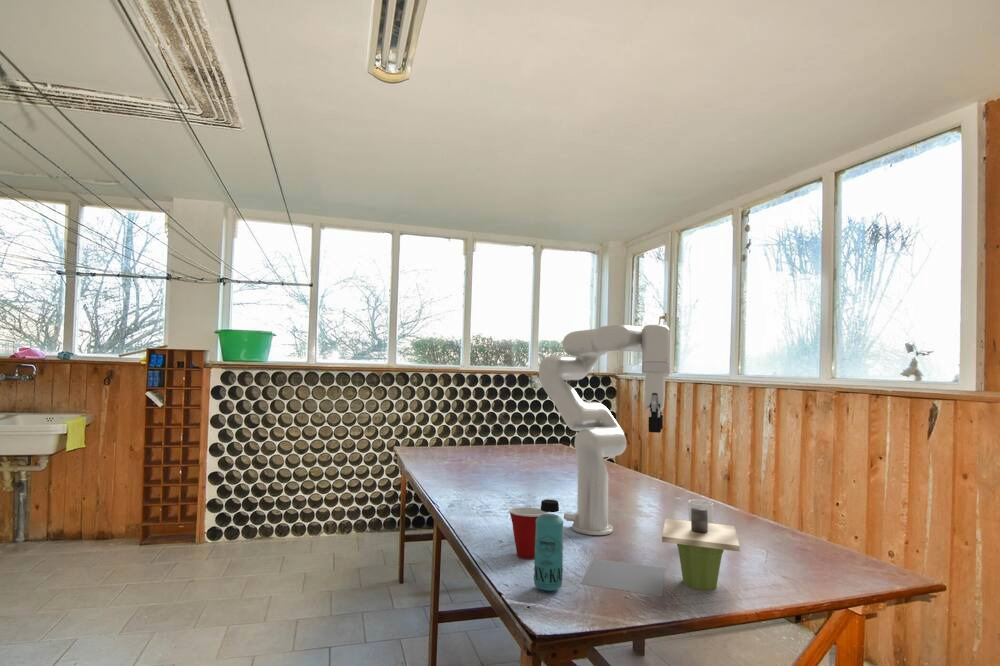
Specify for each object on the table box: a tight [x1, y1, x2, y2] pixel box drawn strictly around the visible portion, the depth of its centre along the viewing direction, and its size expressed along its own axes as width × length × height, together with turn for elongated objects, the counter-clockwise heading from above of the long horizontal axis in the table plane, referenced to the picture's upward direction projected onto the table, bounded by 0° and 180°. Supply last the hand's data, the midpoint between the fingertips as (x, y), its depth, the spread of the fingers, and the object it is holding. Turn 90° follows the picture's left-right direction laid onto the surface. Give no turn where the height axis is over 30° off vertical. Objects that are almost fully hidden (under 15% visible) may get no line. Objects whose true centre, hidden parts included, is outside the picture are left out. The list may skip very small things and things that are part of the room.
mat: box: [580, 557, 666, 598], centre depth 127 cm, size 18×18×1 cm
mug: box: [687, 499, 714, 524], centre depth 155 cm, size 10×7×12 cm, turn 149°
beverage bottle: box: [533, 498, 564, 591], centre depth 119 cm, size 6×7×20 cm
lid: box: [661, 507, 741, 552], centre depth 124 cm, size 16×16×6 cm
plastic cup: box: [508, 506, 550, 560], centre depth 142 cm, size 11×11×12 cm
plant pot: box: [676, 544, 725, 591], centre depth 123 cm, size 12×12×11 cm
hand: (655, 430), depth 147 cm, fingers open, 9 cm apart
